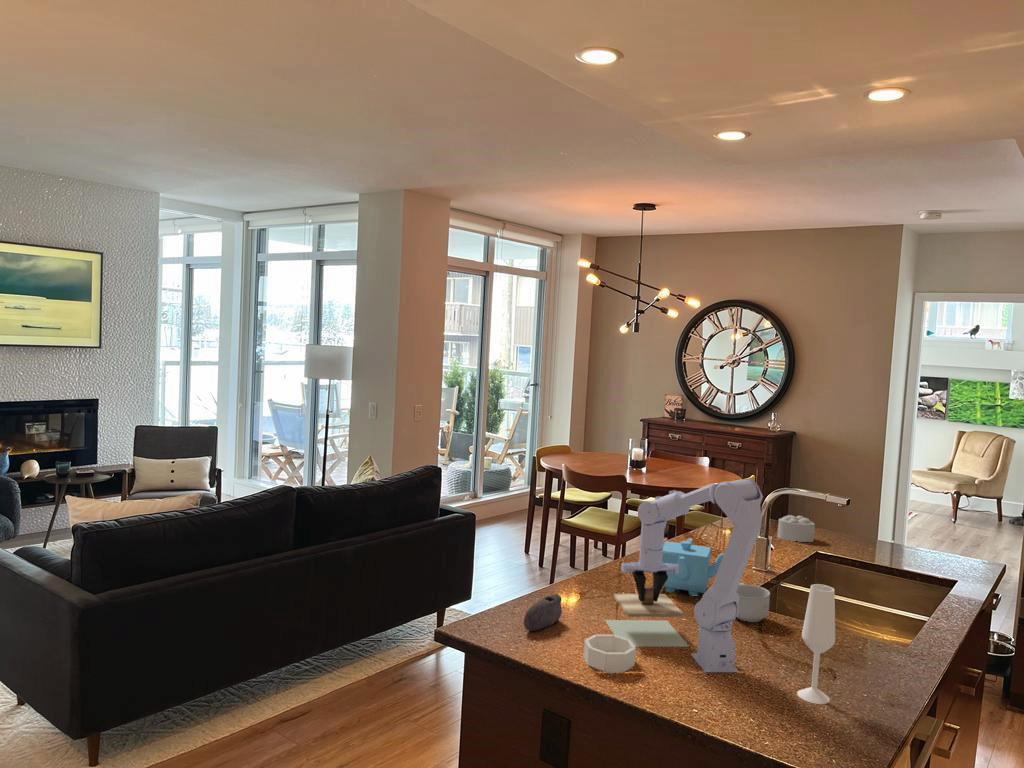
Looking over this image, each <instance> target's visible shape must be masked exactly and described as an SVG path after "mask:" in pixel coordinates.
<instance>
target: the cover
mask: <svg viewBox="0 0 1024 768" xmlns="http://www.w3.org/2000/svg"><path fill="white" fill-rule="evenodd" d="M654 591H655V588H654V587H653V586H650V585H645V588H644V601H640V600H639V598H638V593H613V598H614V599H615V600H616V602H617V604H618V605H619V606H620V608H621V609H622V611H623V612H624V613H625V615H626V616H627V617H628V618H629V617H631V618H632V617H633V618H638V617H639V618H642V617H643V618H684V616H685V615H684V612H683V611H682V610H681V609H680V608H679V607H678V606H677V605H676V604H675V603H674V602H673V601H672V600H671V599H670V598H669V596H668V595H666V593H660V594H659V597H658V600H657V602H655V601H654Z"/></svg>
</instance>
